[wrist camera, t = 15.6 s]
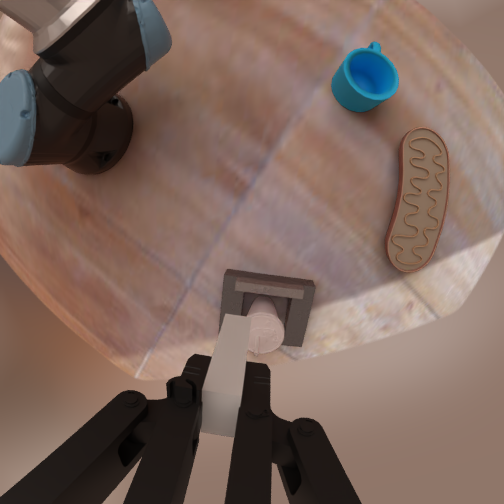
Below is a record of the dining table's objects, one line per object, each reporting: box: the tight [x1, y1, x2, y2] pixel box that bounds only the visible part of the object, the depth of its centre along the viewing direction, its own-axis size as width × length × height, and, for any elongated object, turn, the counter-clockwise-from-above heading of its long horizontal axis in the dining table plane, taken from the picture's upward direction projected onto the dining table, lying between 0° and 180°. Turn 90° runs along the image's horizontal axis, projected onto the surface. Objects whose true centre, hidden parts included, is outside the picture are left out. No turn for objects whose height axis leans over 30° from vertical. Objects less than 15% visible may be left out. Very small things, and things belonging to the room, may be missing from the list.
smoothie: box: [246, 296, 285, 356], centre depth 41 cm, size 6×6×14 cm
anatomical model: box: [385, 127, 450, 273], centre depth 39 cm, size 23×10×5 cm, turn 173°
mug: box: [331, 42, 399, 112], centre depth 33 cm, size 12×8×8 cm
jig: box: [219, 269, 315, 347], centre depth 45 cm, size 14×11×5 cm
